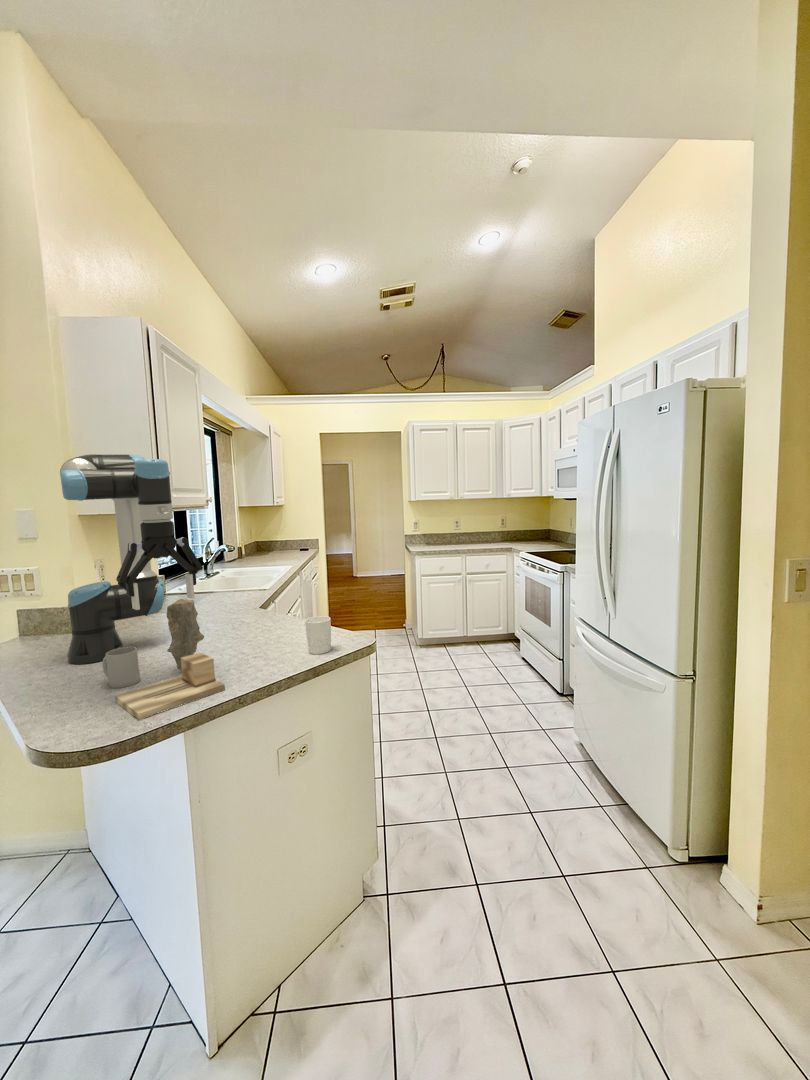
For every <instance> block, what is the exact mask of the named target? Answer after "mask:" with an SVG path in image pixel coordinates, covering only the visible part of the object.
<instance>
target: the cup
mask: <svg viewBox="0 0 810 1080" xmlns="http://www.w3.org/2000/svg"><path fill="white" fill-rule="evenodd" d="M139 664H140V663H139V656H138V648H137V647H136V646H124V647H123V648H118V649H114V650H111V651H109V652H107V653H106V656H105V657H104V659H103V661H102V664H101V665H102V671H103V673H104V675H105V676H106V677H107V679H108V686H109V687H110V688H111V689H122V688H126V687H130V686H133V685H136V684H137V683H138V682H139V681H140V679H141V675H140V666H139Z"/></svg>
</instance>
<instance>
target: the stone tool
mask: <svg viewBox="0 0 810 1080" xmlns="http://www.w3.org/2000/svg"><path fill="white" fill-rule="evenodd" d="M198 614H199V613H198V611H197V609H196V607H195V601H194V600H193V599H184V598H181V599H177V600H176V601H175V602H173V603H172V604H170V605H168V606H167V607H166V619H167V620H168V622H167V625H168V630H169V633H170V636H171V643H170V645H169V647H168V649H167V650H166V652H168V653H171V655H172V657H173V659H174V660H175V664H176V668H177V669H178V671H182V668H181V658H182V657H185V656H189V655H193V654H196V652H197V648H198V647H197V646H198V644H199V642H200V641H203V640H204V639H205V635H204V634H203V633H201V631H200V626H199V623H198V620H197V617H198Z"/></svg>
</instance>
